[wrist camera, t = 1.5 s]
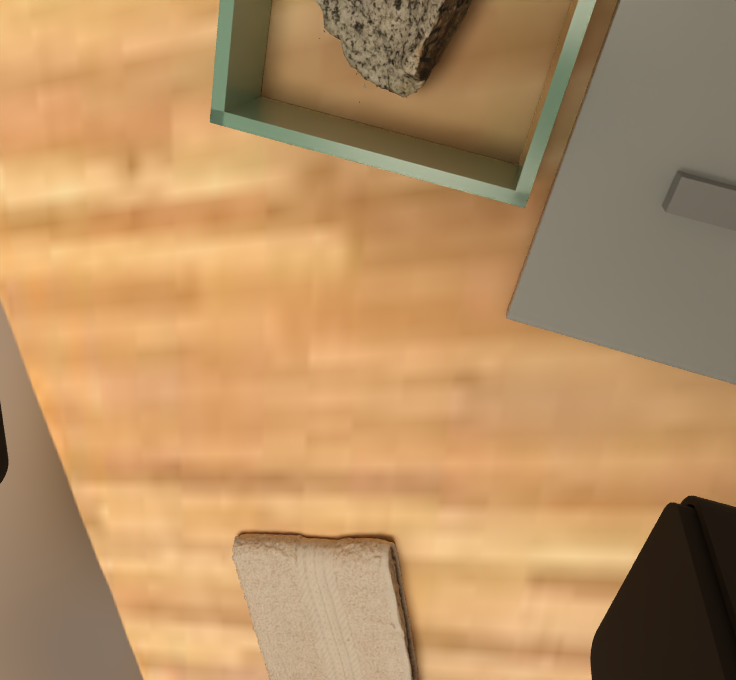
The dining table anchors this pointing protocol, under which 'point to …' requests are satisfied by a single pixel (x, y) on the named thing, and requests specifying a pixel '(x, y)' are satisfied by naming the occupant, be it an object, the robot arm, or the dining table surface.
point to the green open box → (368, 143)
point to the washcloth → (326, 607)
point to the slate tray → (647, 196)
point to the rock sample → (393, 37)
